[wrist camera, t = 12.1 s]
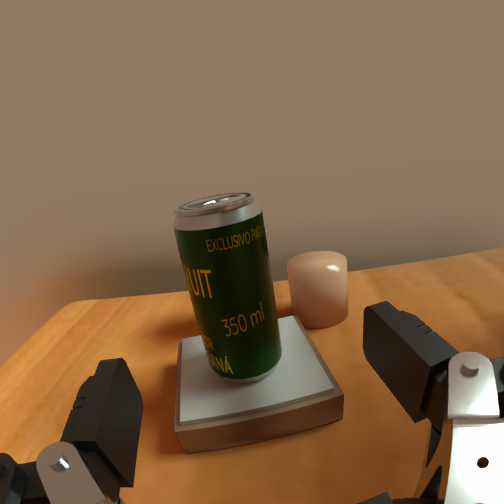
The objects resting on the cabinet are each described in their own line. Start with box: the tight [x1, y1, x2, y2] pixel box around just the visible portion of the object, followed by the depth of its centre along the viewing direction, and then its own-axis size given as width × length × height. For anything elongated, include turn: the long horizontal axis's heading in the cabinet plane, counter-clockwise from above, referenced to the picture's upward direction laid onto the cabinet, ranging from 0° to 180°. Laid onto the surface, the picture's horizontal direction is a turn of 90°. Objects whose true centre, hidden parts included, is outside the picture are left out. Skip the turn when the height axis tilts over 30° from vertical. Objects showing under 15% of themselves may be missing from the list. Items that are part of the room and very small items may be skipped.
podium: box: [174, 315, 344, 454], centre depth 23 cm, size 11×11×3 cm
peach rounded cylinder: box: [287, 251, 348, 329], centre depth 32 cm, size 6×6×6 cm
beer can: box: [174, 192, 282, 384], centre depth 20 cm, size 5×5×12 cm
